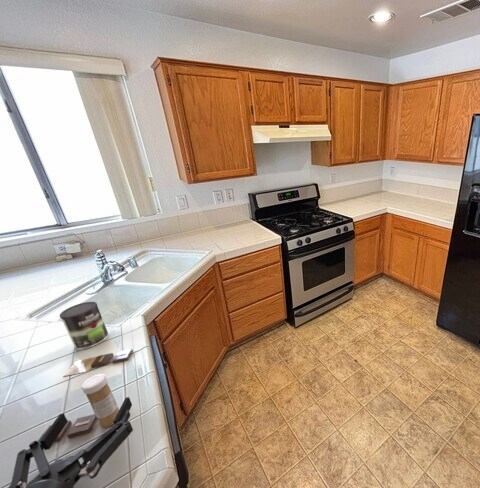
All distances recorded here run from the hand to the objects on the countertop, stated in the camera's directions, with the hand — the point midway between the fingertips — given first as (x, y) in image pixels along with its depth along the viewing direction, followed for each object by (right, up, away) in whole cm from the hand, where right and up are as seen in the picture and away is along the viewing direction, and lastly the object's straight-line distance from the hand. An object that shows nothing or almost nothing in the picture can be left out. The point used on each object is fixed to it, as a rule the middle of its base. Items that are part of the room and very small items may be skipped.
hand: (97, 409), depth 64 cm
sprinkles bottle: (0, -6, +5) cm, 8 cm away
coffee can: (-34, +3, +36) cm, 50 cm away
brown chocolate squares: (-9, -7, +2) cm, 12 cm away
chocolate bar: (-21, 0, +25) cm, 32 cm away
